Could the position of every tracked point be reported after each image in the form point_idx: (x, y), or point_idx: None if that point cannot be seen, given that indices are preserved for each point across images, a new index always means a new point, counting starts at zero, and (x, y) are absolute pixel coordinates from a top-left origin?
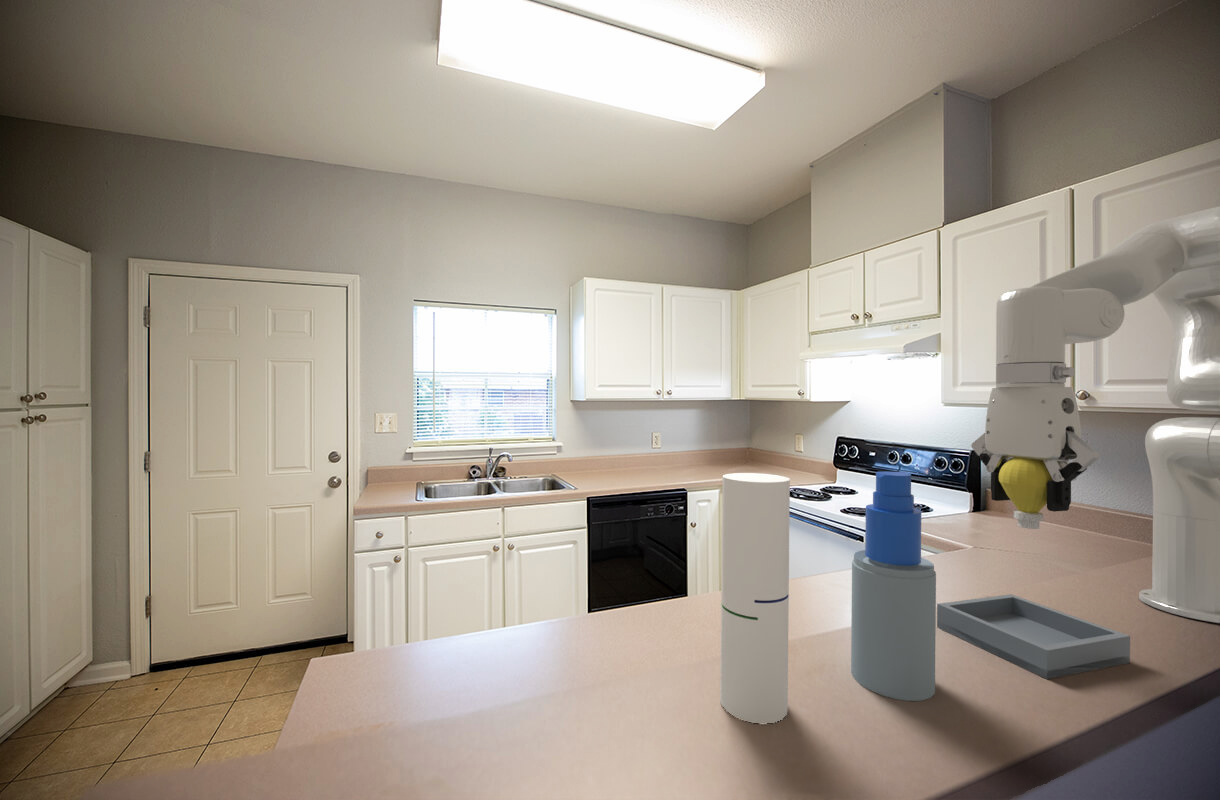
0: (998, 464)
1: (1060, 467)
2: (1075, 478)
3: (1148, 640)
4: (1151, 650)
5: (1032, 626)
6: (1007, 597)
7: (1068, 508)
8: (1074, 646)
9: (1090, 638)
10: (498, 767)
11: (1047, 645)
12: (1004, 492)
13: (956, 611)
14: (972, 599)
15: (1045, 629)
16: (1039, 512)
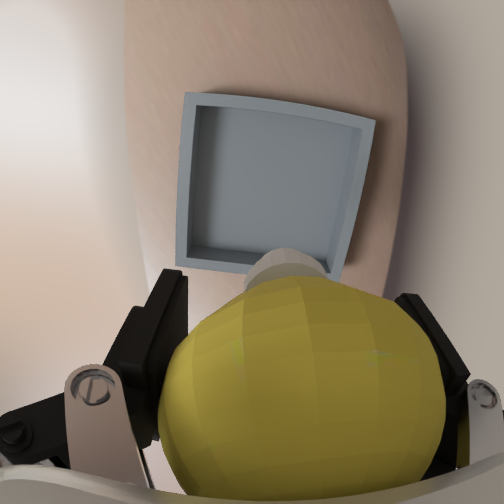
0: (150, 475)
1: (463, 447)
2: (491, 391)
3: (335, 4)
4: (354, 41)
5: (250, 135)
6: (193, 117)
7: (416, 296)
8: (350, 237)
9: (352, 187)
10: None
11: (332, 269)
12: (180, 333)
13: (208, 268)
14: (178, 192)
15: (265, 127)
16: (312, 274)
